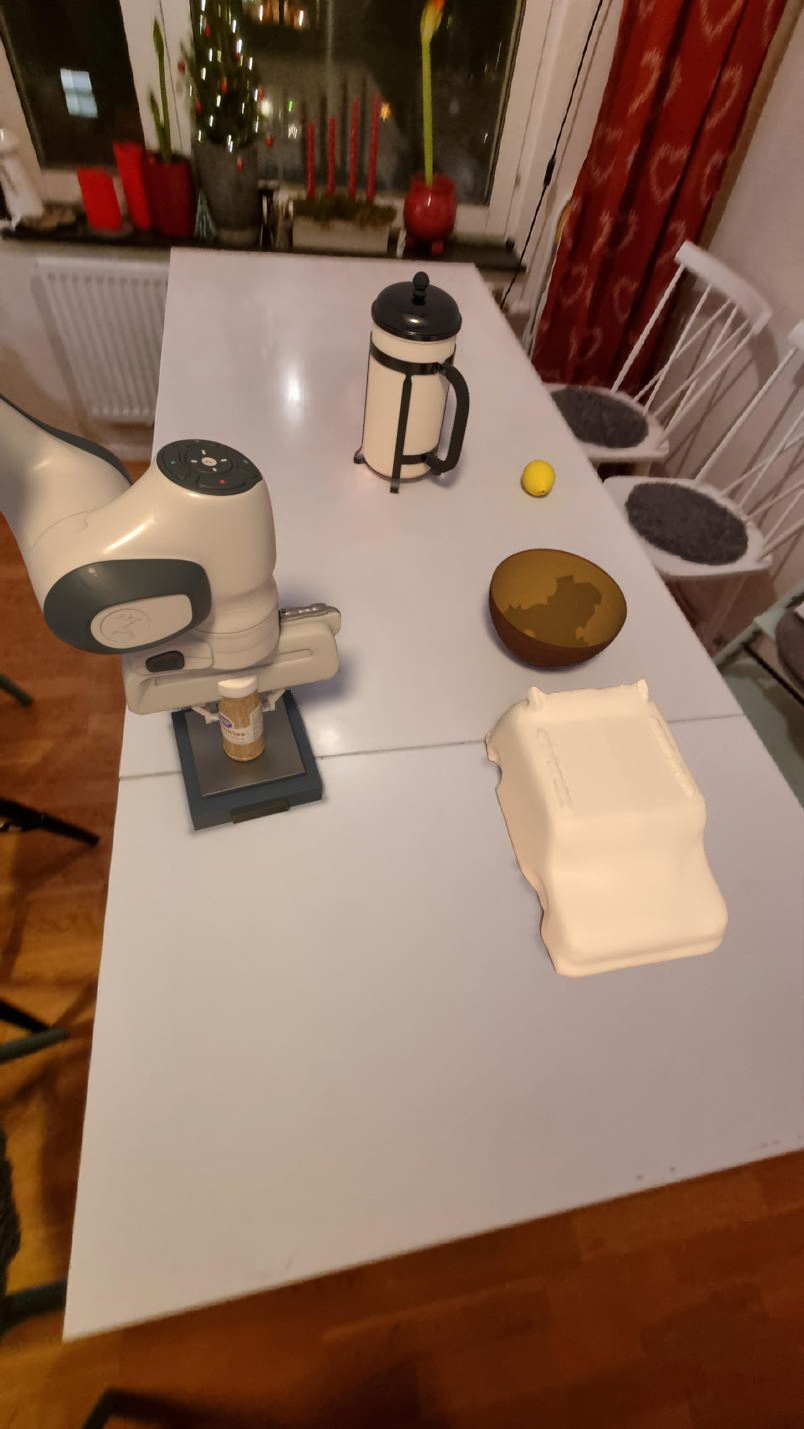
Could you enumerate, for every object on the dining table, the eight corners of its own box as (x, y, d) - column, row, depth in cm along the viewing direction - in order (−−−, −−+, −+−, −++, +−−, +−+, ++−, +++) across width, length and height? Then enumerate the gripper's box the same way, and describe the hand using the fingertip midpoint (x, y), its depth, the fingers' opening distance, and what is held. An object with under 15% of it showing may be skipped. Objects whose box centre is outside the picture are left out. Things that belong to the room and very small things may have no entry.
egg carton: (615, 723, 90) (658, 655, 79) (721, 954, 73) (793, 909, 62) (475, 738, 86) (499, 669, 75) (552, 987, 69) (598, 944, 58)
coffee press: (343, 489, 112) (354, 288, 88) (362, 434, 121) (377, 239, 97) (449, 510, 112) (489, 315, 87) (459, 454, 121) (499, 264, 97)
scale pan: (202, 799, 73) (201, 795, 72) (185, 716, 79) (184, 712, 78) (305, 775, 76) (305, 771, 75) (281, 697, 82) (281, 693, 81)
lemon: (515, 478, 119) (523, 450, 114) (546, 480, 120) (555, 452, 115) (522, 504, 115) (530, 476, 110) (553, 506, 115) (563, 478, 111)
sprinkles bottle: (215, 753, 75) (200, 675, 65) (237, 722, 78) (225, 642, 67) (253, 769, 75) (244, 693, 64) (273, 737, 77) (268, 659, 67)
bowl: (490, 701, 90) (508, 650, 82) (463, 602, 100) (477, 548, 92) (617, 694, 93) (647, 645, 85) (578, 600, 103) (602, 547, 95)
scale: (196, 836, 74) (192, 823, 72) (174, 727, 82) (170, 712, 79) (323, 805, 78) (323, 791, 76) (291, 703, 86) (290, 688, 83)
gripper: (332, 577, 66) (328, 670, 77) (103, 612, 60) (134, 707, 71) (352, 625, 62) (344, 715, 73) (111, 667, 56) (142, 758, 68)
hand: (239, 712), depth 72 cm, fingers closed on sprinkles bottle, 4 cm apart
